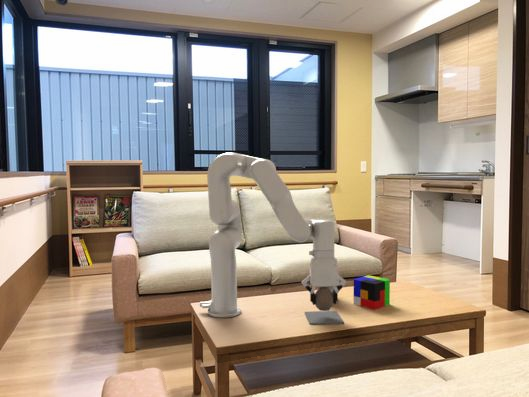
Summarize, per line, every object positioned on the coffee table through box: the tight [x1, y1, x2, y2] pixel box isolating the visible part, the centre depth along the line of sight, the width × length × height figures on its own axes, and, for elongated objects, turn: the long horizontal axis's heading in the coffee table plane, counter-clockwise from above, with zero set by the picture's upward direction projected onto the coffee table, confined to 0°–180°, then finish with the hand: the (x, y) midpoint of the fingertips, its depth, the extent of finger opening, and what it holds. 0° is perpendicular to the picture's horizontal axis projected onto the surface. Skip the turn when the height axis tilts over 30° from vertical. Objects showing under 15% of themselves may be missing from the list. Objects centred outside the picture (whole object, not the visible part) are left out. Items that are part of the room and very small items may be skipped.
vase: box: [314, 287, 334, 311], centre depth 151 cm, size 7×7×9 cm
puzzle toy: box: [353, 275, 391, 311], centre depth 167 cm, size 10×10×10 cm
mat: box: [304, 310, 345, 326], centre depth 151 cm, size 12×12×1 cm
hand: (323, 302), depth 151 cm, fingers closed on vase, 6 cm apart
